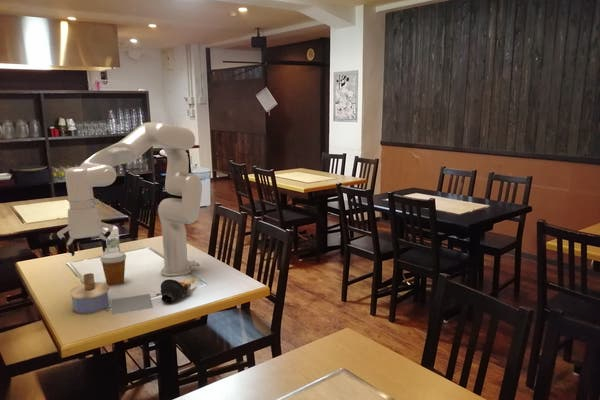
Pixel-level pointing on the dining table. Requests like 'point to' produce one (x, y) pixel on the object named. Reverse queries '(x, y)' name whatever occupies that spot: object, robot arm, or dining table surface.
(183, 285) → the black dish with food
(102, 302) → the bowl
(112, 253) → the disposable coffee cup
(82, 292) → the lid
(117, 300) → the mat
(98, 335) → the dining table surface
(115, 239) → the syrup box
